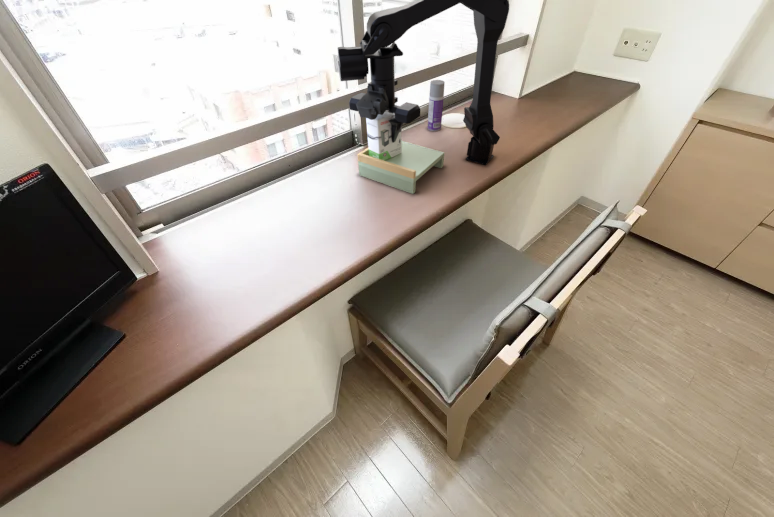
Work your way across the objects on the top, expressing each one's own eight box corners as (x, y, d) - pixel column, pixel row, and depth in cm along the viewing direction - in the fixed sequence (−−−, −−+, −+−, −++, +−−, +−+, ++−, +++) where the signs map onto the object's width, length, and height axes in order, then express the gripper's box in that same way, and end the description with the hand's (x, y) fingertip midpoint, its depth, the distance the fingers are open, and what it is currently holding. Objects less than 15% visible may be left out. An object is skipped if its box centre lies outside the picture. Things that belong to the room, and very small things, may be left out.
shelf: (443, 166, 99) (445, 145, 95) (413, 194, 89) (413, 172, 85) (392, 151, 107) (391, 131, 102) (359, 175, 97) (357, 154, 92)
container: (442, 126, 119) (446, 80, 109) (439, 131, 116) (443, 85, 106) (429, 124, 120) (432, 79, 110) (425, 130, 117) (428, 83, 107)
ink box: (379, 163, 92) (377, 120, 84) (368, 157, 95) (364, 114, 87) (402, 153, 96) (402, 110, 88) (390, 147, 99) (389, 105, 91)
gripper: (331, 80, 81) (339, 143, 92) (396, 94, 73) (397, 160, 84) (359, 68, 87) (364, 128, 98) (422, 79, 79) (420, 143, 90)
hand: (384, 139), depth 92 cm, fingers closed on ink box, 5 cm apart
